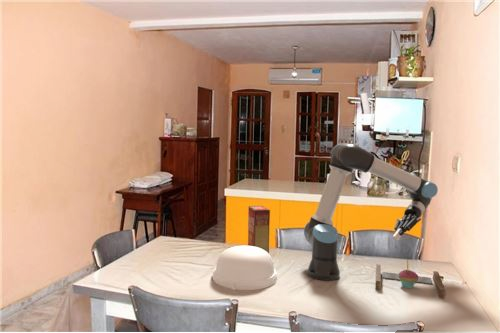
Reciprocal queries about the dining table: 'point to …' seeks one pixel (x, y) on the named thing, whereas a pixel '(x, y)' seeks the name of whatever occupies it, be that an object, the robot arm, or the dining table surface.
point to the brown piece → (423, 280)
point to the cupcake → (408, 277)
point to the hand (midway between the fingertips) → (395, 238)
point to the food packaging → (258, 227)
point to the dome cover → (245, 268)
